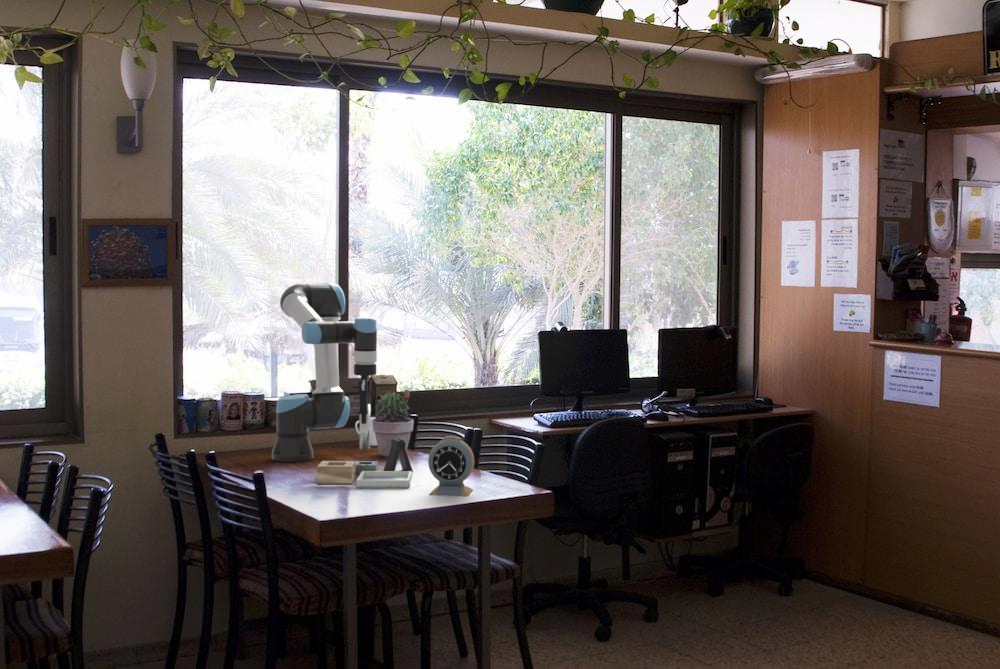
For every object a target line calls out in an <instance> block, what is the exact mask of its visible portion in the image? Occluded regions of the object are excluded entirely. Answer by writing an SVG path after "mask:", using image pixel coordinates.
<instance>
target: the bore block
mask: <svg viewBox="0 0 1000 669" xmlns="http://www.w3.org/2000/svg"><path fill="white" fill-rule="evenodd" d="M355 461H356V460H322V461H320V463H319V464H318V465H317V466H316V480H317V481H316V485H317V486H353V485H352V484H353V481H354V479H355V478H356V475H355Z"/></svg>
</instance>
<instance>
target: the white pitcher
mask: <svg viewBox="0 0 1000 669" xmlns="http://www.w3.org/2000/svg"><path fill="white" fill-rule="evenodd" d="M373 419H376V418H375V417H371V416H370V447H371V446H373V447H374V446H375V447H378V444H377V440H376V435H375V432H374V431H373V424H372V420H373ZM358 424H359V420H357V421H356V422H355V425H354V427H355V430H356V433H357V434H358V436H360V430H359V428H358Z"/></svg>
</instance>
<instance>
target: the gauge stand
mask: <svg viewBox="0 0 1000 669" xmlns="http://www.w3.org/2000/svg"><path fill="white" fill-rule="evenodd" d="M354 461H355V476H358V475H360V474H361V472H362V471H379V460H368V461H367V460H366V461H365V460H361V461H360V460H354Z"/></svg>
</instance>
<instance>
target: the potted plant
mask: <svg viewBox="0 0 1000 669" xmlns="http://www.w3.org/2000/svg"><path fill="white" fill-rule="evenodd" d="M401 394H402V396H401ZM410 396H411V395H410V391H409V390H408V389H405V390H404V391H402V390H401V391H400V392H399V391H397V392H396V391H395V390H393V392H387V393H384V395H383V394H382V395H380V399H377V400H376V402H377V403H378V404H377V405H376V406H374V409H375V408H376V409H375V410H376V414H375V413H374V414H373V415H370V417H375V418H376V419H373V420H372V424H373V431H374V432H375V435H376V440H377V444H378V446H377V448H378V453H379V456H380V455H381V456H380V457H386V458H388V455H389V452H390V449H391V441H392V439H393V438H395V439H396V438H398V439H401V440H403V441H404V442H405V450H406V453H408V452H407V451H408V448H409V443H410V439H411V435H412V434H411V433H412V432H413V431H414V423H415V422H414V418H410V417H408V416H411V413H409V411H408V410H411V407H409V406H408V405H409V404H411V403H409V402H408V401H410V400H409V399H410ZM416 405H418V404H416ZM398 458H399V455H398Z"/></svg>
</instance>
